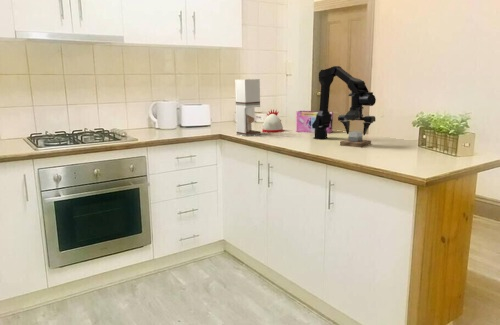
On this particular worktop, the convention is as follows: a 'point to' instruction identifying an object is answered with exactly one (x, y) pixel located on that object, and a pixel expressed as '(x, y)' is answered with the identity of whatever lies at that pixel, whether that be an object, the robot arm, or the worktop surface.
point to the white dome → (272, 123)
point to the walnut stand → (355, 143)
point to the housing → (355, 136)
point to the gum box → (309, 121)
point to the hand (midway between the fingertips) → (355, 134)
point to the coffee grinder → (246, 105)
